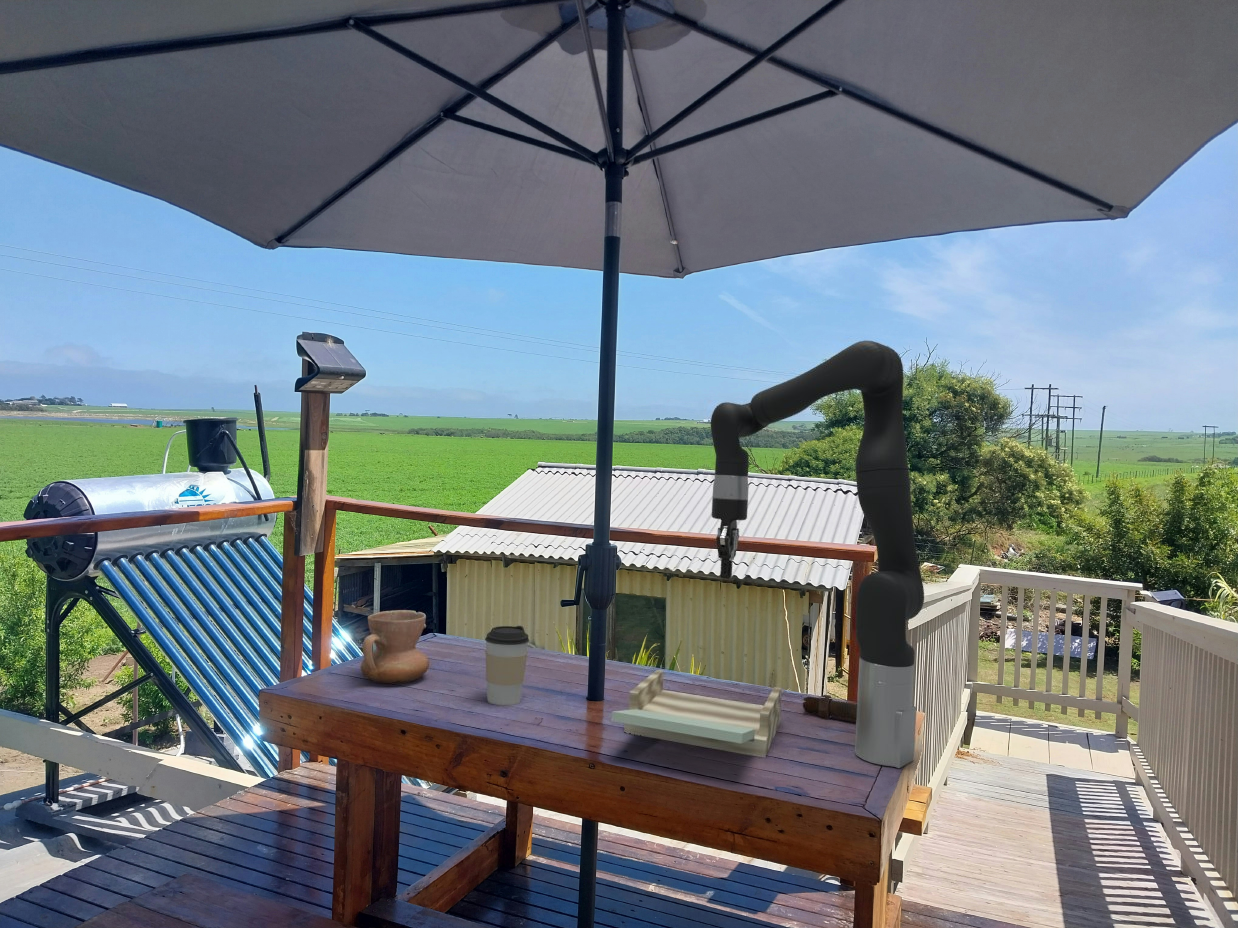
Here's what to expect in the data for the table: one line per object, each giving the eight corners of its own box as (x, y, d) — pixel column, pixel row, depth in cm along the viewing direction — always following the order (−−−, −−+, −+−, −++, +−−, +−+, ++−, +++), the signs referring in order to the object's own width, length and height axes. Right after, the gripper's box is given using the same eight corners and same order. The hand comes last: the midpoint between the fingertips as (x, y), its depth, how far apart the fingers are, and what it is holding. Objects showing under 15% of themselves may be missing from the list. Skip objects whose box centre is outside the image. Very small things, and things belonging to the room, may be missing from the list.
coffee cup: (494, 709, 147) (498, 633, 147) (474, 696, 155) (478, 624, 155) (533, 703, 153) (537, 630, 153) (512, 691, 160) (516, 621, 160)
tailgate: (636, 709, 138) (612, 711, 125) (755, 728, 131) (742, 733, 118) (634, 720, 137) (610, 724, 125) (754, 741, 130) (741, 747, 117)
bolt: (804, 720, 157) (878, 733, 150) (799, 713, 153) (874, 726, 146) (809, 693, 160) (881, 704, 152) (803, 685, 156) (878, 697, 149)
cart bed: (655, 702, 157) (656, 669, 157) (779, 723, 148) (781, 688, 148) (624, 732, 138) (626, 694, 138) (764, 757, 130) (766, 717, 130)
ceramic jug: (398, 665, 176) (400, 605, 176) (446, 675, 169) (448, 612, 169) (337, 683, 160) (339, 617, 160) (386, 695, 153) (388, 626, 153)
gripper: (742, 498, 151) (737, 583, 151) (752, 497, 164) (748, 576, 163) (706, 496, 154) (701, 580, 154) (719, 495, 166) (715, 573, 166)
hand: (725, 577), depth 159 cm, fingers closed
